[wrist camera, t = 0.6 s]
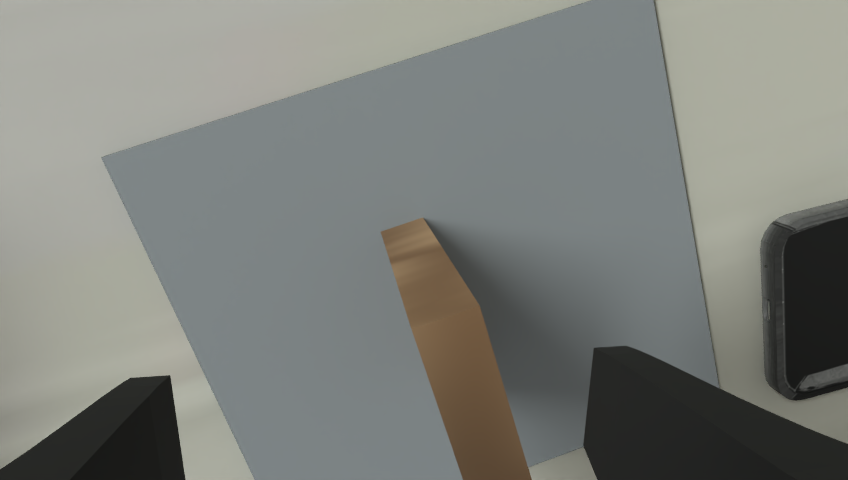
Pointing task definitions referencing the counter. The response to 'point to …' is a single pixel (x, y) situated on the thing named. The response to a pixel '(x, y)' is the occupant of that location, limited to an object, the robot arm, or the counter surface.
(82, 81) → the counter surface
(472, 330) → the walnut tile
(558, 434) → the rubber mat
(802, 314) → the phone
